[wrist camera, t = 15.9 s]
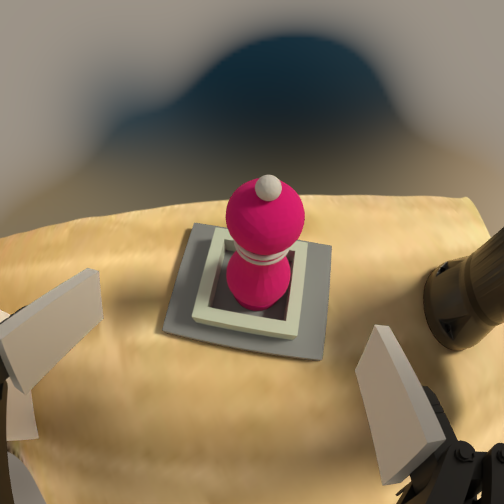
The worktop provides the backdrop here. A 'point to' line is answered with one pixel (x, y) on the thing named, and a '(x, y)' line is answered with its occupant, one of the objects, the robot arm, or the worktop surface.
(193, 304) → the socket board
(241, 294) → the pepper mill
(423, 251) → the worktop surface
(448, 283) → the robot arm
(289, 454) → the worktop surface
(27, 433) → the white notched cradle block
